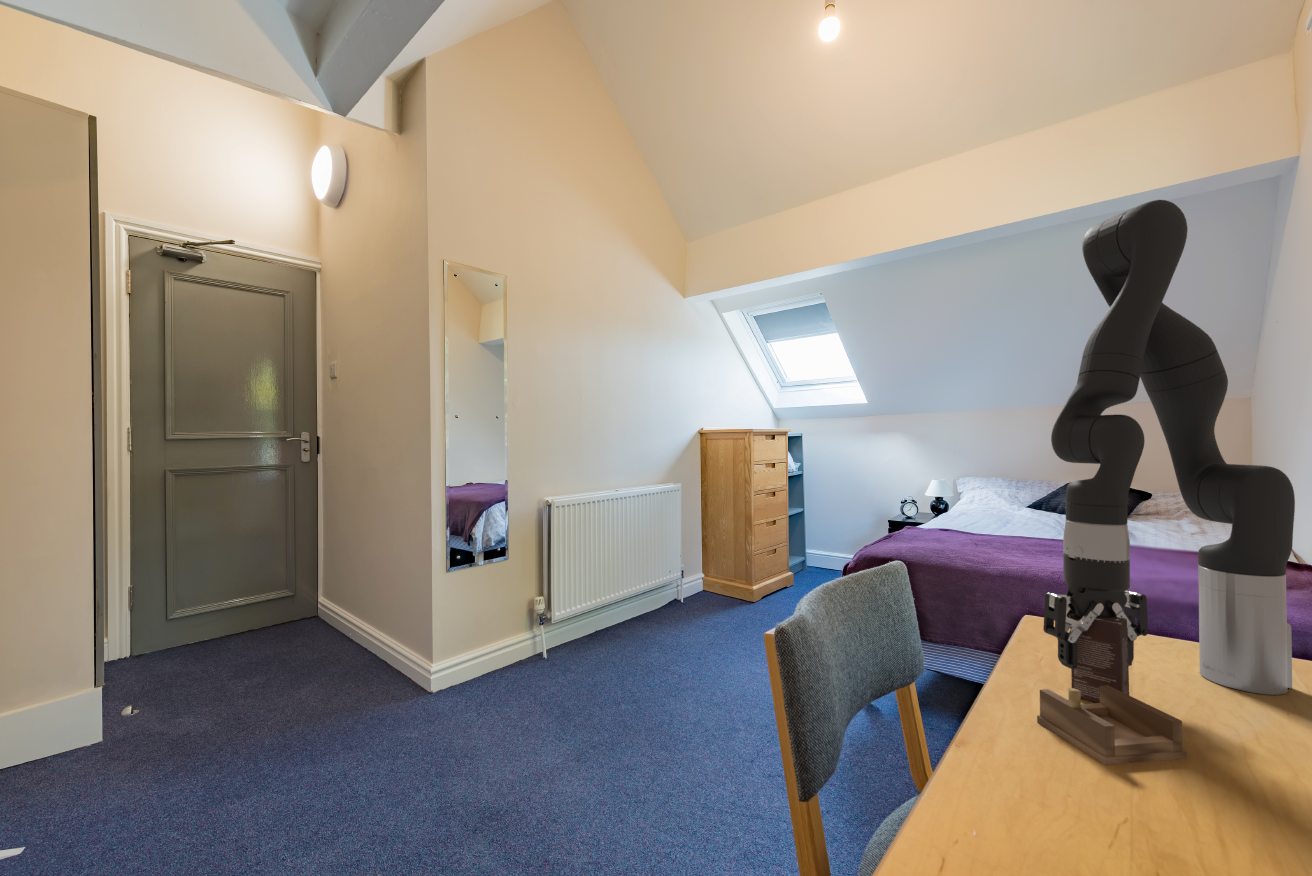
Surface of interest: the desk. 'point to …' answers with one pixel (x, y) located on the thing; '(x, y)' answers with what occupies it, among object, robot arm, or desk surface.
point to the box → (1102, 657)
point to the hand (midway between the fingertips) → (1095, 665)
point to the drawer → (1112, 726)
